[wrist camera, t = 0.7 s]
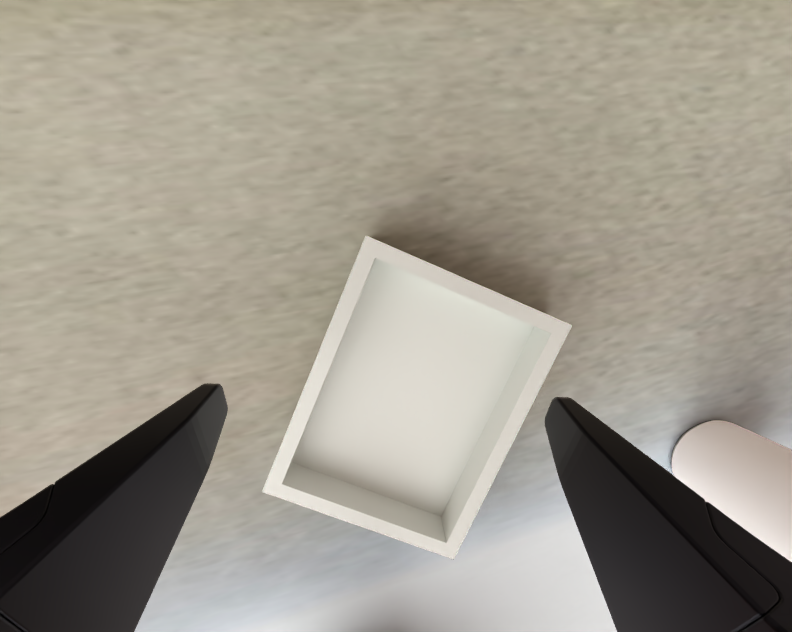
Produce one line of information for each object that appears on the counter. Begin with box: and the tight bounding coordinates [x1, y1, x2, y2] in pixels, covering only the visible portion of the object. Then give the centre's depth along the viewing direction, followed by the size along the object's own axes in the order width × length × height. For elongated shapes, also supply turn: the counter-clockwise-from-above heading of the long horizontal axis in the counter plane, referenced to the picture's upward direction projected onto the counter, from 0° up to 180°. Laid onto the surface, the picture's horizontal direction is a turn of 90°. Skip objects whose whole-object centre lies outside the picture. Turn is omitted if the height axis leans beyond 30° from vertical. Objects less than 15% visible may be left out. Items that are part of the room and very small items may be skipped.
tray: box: [262, 236, 572, 560], centre depth 24 cm, size 18×14×4 cm
